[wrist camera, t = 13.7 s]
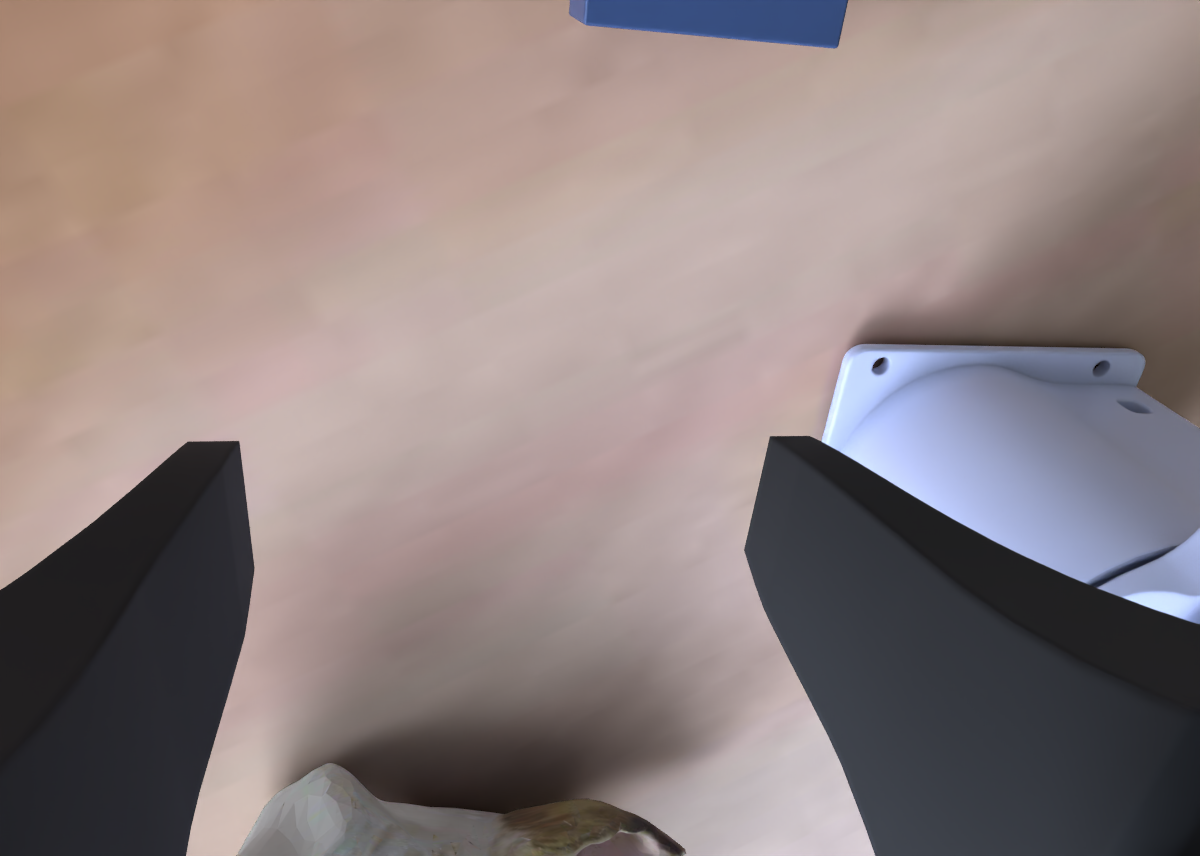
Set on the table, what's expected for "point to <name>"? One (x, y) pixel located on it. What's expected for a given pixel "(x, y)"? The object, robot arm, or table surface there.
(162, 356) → the table surface
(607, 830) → the ceramic sculpture
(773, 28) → the brush
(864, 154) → the table surface
